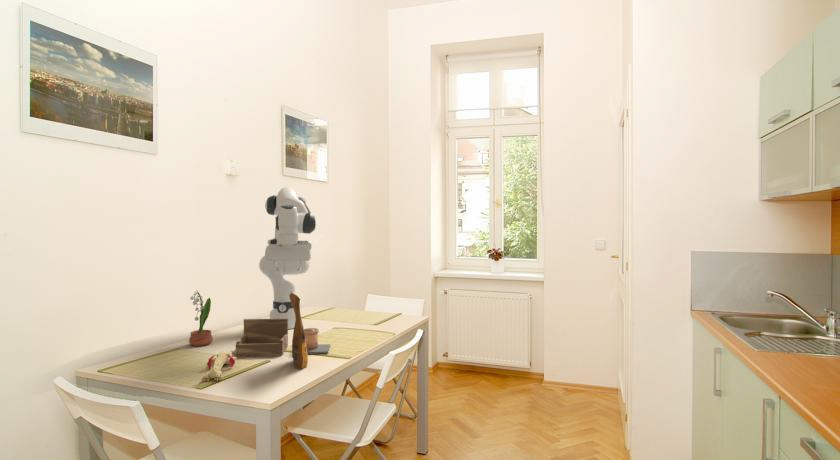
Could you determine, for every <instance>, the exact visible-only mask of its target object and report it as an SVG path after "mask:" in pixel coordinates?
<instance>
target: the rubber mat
mask: <svg viewBox="0 0 840 460" xmlns="http://www.w3.org/2000/svg"><path fill="white" fill-rule="evenodd" d="M329 348H330V349H331V344H330V343H327V344H326V343H325V344H319V343H318V348H317V349H312V350H307V353H308V355H319V354H318V353H328V354H329V352H330V349H329ZM328 351H329V352H328Z"/></svg>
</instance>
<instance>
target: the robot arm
mask: <svg viewBox="0 0 840 460" xmlns="http://www.w3.org/2000/svg"><path fill="white" fill-rule="evenodd" d="M264 207H265V211H266V213H267V214H268V215H271V216H275V229H274V237H273V238H271V239H268V240H267V246H266V248H265V252H264V255H263V256H262V257H261V258H260V260H259V263H258V266H259V270H260V272H261V273H262V274H263V275H264V276H266V277H267V278H268V279H269V280H270V282H271V284H272V290H273V300H272V310H271V311H269V319H284V318H288V330H292V329H294V326H295V320H296V318H295V312H294V309H293V306H292V303H291V300H290V296H289V295H290V293H291V292H292V293H293V294H295V295H296V286H295V285H294V283H292V282H290V281H288V280H286V279H285V278H284V276H286V275H289V276H293V275H297V276H298V275H302V274H305V273H307V272H308V270H309V268H310V260H311V259H312V256H311V255H312V254H311V250H312V243H311V241H308V240H299V234H309V235H310V234H312V233H313V232H314V231H315V230H316V228H317V227H316V226H317V219H316V217H315V215H314V214H313V213H312V211H310V208H309V206H308V203H307V201H306V199H305V198H303V197H301V196H298V194H297V193H296V191H295V190H294V188H292V187H289V186H287V187H285V186H284V187H282V188H280V190H279V191H278V192H277V195H275V194H274V195H271V196H269V197H267V199H266V200H265V205H264Z"/></svg>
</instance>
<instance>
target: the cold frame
mask: <svg viewBox="0 0 840 460" xmlns="http://www.w3.org/2000/svg"><path fill="white" fill-rule="evenodd" d="M235 343H236V344H235V357H238V358H239V357H240V358H241V357H273V356H274V357H278V356H280V357H281V356H283V355H284V353H285V352H286V350H287V349H288V346H289V329H288V318H284V319H270V318H244V319H243V335H242V336H241V337H239V339H238V340H236V342H235ZM286 348H287V349H286Z"/></svg>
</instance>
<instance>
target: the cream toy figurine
mask: <svg viewBox="0 0 840 460" xmlns="http://www.w3.org/2000/svg"><path fill="white" fill-rule="evenodd" d="M215 356H216V357H215ZM236 361H237V357H236V356H233V352H232V351H231V350H227V351H226V350H225V351H223V350H222V351H219V352H217V354H214V355H212V356H211V357H210V358H208V360H207V363H206V366H207V367H208V369H209V371H207V372H206V373H205V374H204V376H203V378H202V381H203V382H205V381H208V380H210V381H211V378H214V379H213V381H216V380H217V379H218V380H219V381H221V380H222V373H223V372H222V371H221V370H222V368H223V366H224V365H229V364H230V365H229V368H230V367H231V368H232V367H234V366H235V365H236V364H235V363H236ZM208 382H209V381H208Z"/></svg>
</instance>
